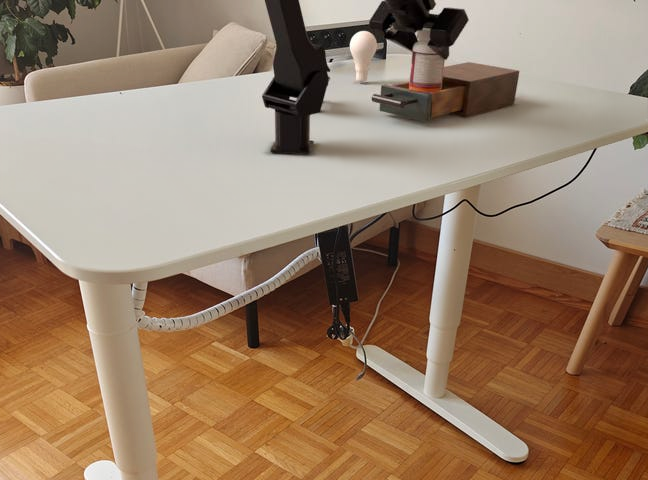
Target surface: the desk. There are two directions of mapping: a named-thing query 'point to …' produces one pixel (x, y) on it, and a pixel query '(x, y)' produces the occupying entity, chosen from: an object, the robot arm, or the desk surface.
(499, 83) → the cabinet
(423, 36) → the pill bottle
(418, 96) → the drawer
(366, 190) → the desk surface
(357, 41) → the lightbulb
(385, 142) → the desk surface
